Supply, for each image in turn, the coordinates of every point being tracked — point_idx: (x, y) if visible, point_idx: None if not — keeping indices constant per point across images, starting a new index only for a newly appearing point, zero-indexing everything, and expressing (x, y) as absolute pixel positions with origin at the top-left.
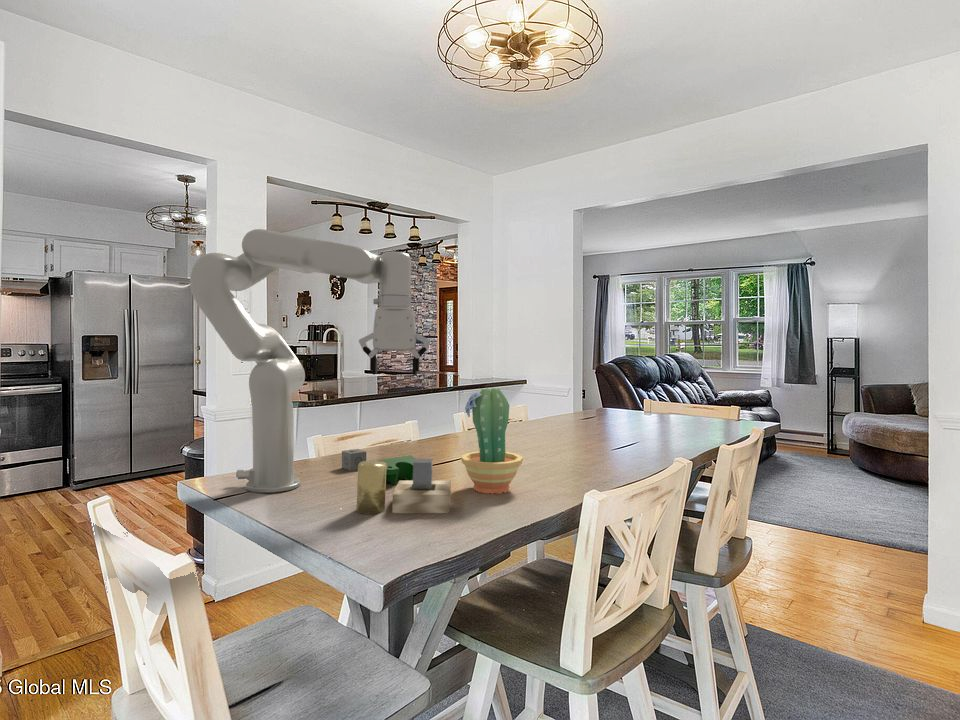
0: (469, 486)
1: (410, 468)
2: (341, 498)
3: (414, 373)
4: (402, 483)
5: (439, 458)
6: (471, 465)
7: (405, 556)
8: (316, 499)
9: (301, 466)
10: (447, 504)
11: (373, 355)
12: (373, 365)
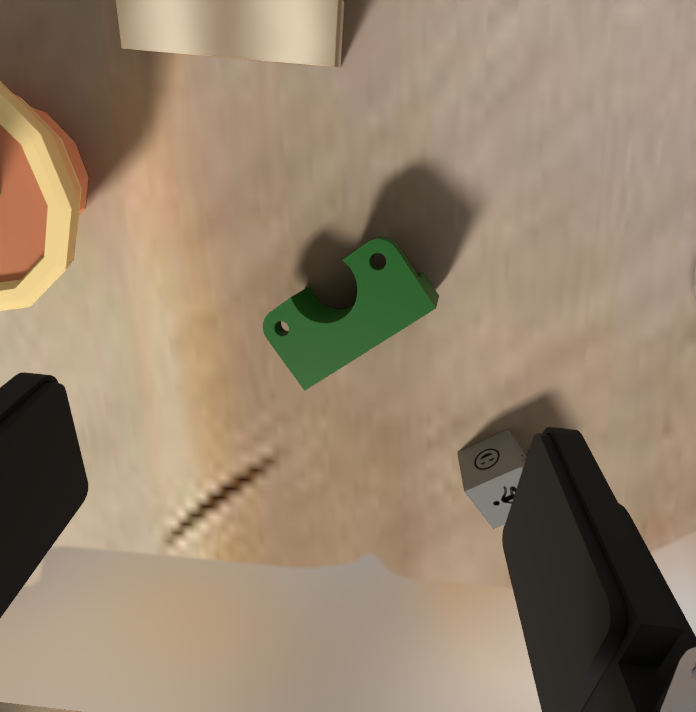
0: (107, 209)
1: (305, 307)
2: (556, 68)
3: (29, 378)
4: (317, 2)
5: (241, 537)
6: (16, 101)
7: None
8: (654, 59)
9: (659, 494)
10: None
11: (686, 695)
12: (606, 509)
